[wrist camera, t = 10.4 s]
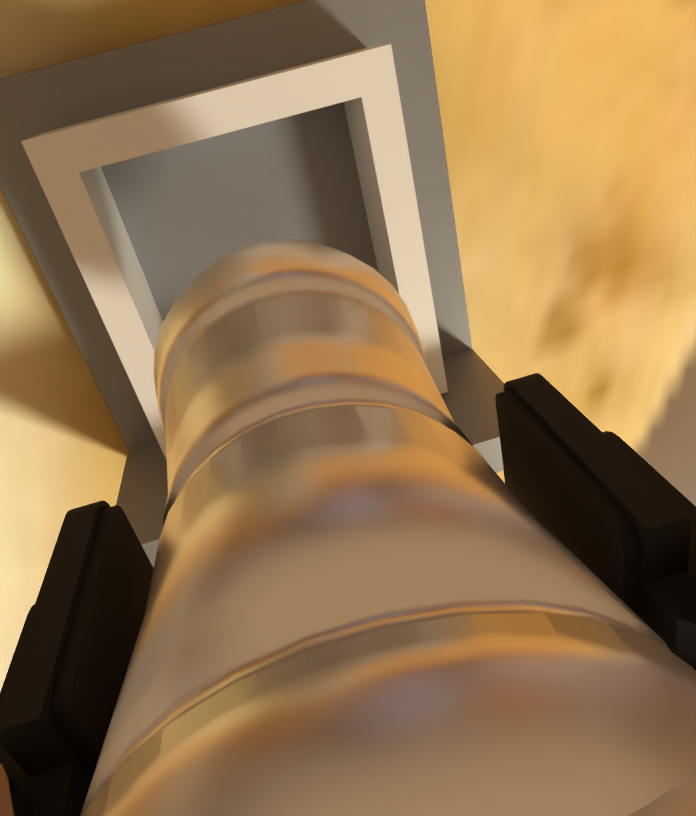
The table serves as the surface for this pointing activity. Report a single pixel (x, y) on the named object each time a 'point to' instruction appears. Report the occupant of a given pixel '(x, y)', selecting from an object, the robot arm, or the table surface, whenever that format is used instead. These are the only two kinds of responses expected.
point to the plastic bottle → (363, 587)
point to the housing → (238, 192)
